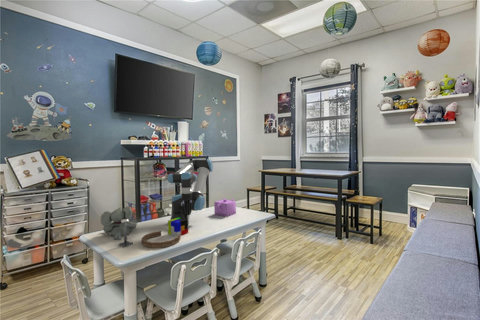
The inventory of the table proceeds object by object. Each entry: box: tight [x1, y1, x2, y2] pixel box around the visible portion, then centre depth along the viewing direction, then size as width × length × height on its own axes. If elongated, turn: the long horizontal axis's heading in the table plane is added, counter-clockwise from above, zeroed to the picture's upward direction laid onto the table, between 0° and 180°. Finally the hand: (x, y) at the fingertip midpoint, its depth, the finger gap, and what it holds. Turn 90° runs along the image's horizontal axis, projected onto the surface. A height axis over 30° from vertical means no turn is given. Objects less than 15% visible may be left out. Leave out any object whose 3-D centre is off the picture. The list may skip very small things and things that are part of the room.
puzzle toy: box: [167, 218, 189, 238], centre depth 188 cm, size 10×10×10 cm
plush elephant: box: [100, 206, 137, 241], centre depth 187 cm, size 27×22×21 cm
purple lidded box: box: [213, 198, 237, 217], centre depth 243 cm, size 15×25×14 cm, turn 144°
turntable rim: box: [141, 230, 181, 249], centre depth 171 cm, size 24×21×3 cm
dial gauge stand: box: [118, 219, 138, 248], centre depth 166 cm, size 8×8×16 cm
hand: (187, 223), depth 197 cm, fingers closed
